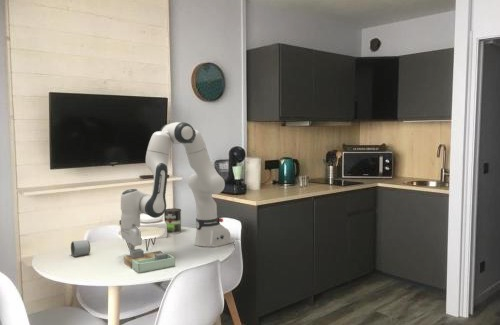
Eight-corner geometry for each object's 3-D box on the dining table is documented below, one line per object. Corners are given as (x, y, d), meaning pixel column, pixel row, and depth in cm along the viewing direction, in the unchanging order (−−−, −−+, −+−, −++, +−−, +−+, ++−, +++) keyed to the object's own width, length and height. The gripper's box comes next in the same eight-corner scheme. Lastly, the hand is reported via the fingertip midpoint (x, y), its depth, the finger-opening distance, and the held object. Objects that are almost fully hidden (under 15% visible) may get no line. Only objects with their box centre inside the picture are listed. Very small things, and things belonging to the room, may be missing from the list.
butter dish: (167, 238, 254) (166, 211, 252) (135, 240, 248) (134, 213, 247) (164, 231, 270) (163, 206, 269) (134, 234, 265) (133, 208, 264)
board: (160, 256, 214) (160, 250, 214) (168, 261, 206) (168, 255, 205) (124, 263, 204) (124, 256, 204) (131, 268, 196) (130, 261, 196)
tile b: (140, 254, 207) (140, 248, 207) (143, 257, 203) (143, 250, 203) (130, 256, 204) (129, 250, 204) (133, 258, 200) (133, 252, 200)
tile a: (165, 252, 201) (167, 253, 199) (165, 263, 201) (167, 264, 199) (154, 254, 198) (157, 255, 196) (155, 264, 199) (157, 266, 196)
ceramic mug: (91, 255, 219) (90, 240, 219) (74, 258, 214) (74, 242, 214) (85, 251, 227) (84, 236, 227) (68, 254, 222) (68, 239, 222)
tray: (167, 261, 205) (167, 253, 205) (175, 266, 198) (174, 257, 198) (131, 268, 196) (131, 259, 196) (138, 273, 189) (138, 264, 188)
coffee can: (178, 234, 262) (177, 211, 261) (162, 233, 264) (161, 211, 263) (183, 230, 272) (183, 208, 271) (168, 230, 274) (167, 208, 273)
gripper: (144, 225, 202) (145, 254, 203) (130, 218, 219) (131, 245, 220) (131, 227, 198) (132, 257, 199) (118, 220, 216) (119, 247, 216)
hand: (131, 251), depth 210 cm, fingers closed
